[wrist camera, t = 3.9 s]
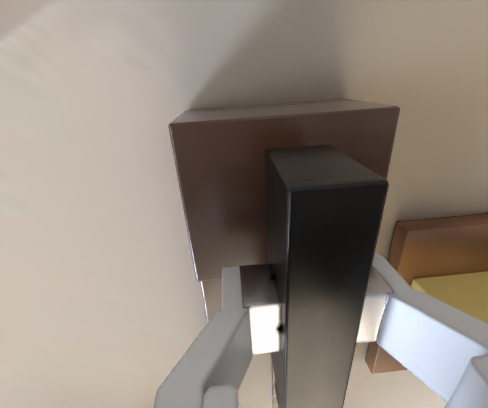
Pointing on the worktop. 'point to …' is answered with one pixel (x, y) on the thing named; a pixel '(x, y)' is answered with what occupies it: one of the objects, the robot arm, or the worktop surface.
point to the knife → (319, 266)
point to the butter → (459, 291)
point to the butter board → (433, 260)
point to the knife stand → (258, 185)
